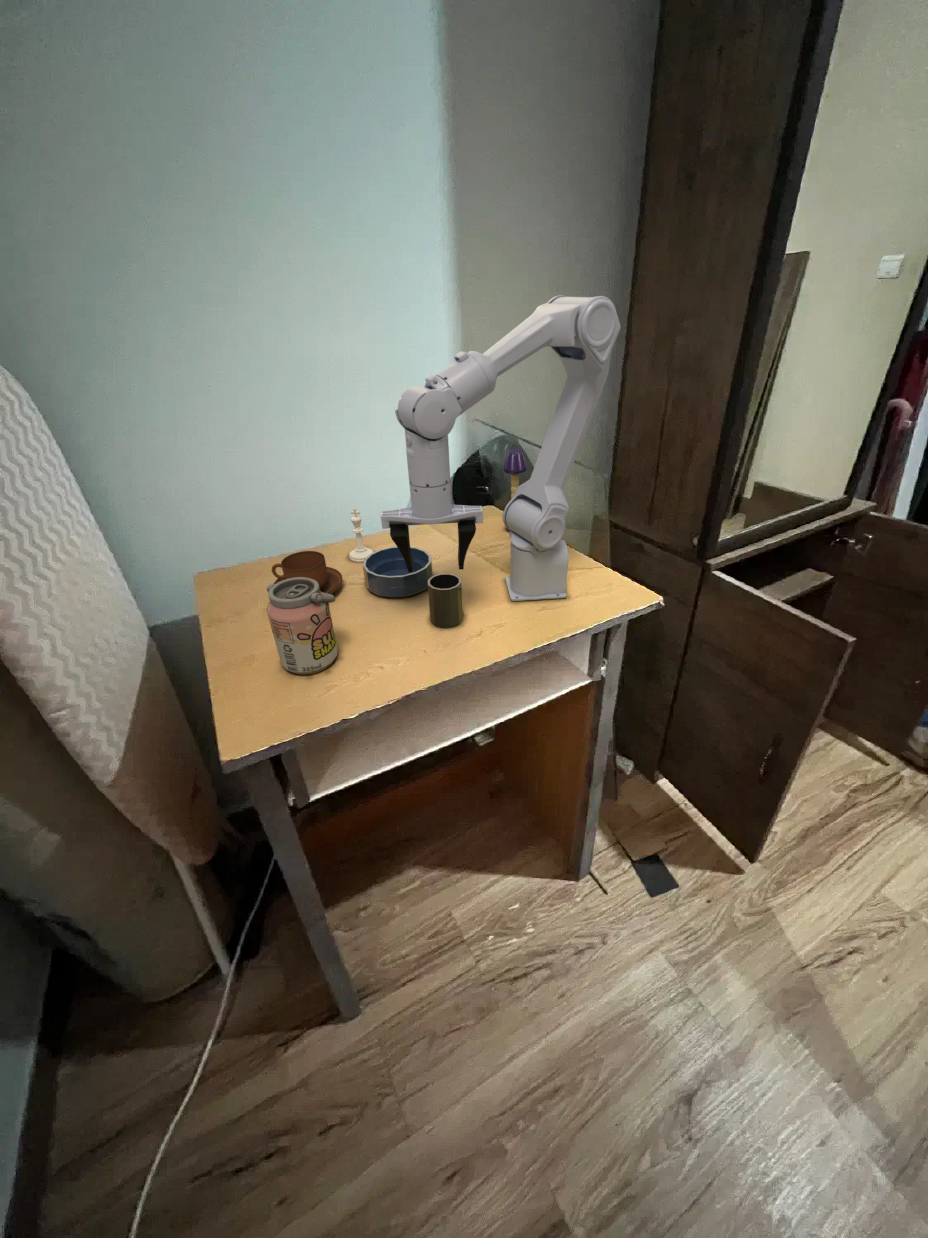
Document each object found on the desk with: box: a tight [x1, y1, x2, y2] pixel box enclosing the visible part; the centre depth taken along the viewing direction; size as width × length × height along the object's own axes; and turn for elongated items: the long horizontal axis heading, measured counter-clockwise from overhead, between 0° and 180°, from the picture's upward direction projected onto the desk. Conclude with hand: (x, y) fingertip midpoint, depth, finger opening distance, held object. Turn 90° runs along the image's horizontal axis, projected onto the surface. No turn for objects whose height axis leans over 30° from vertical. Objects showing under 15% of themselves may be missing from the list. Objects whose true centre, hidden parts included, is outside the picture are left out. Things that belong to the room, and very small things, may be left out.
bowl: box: [362, 546, 434, 598], centre depth 94 cm, size 12×12×4 cm
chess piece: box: [348, 507, 375, 563], centre depth 102 cm, size 5×5×10 cm
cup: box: [427, 572, 464, 629], centre depth 83 cm, size 5×5×7 cm
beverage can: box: [266, 577, 339, 676], centre depth 74 cm, size 9×8×12 cm
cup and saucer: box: [271, 550, 343, 595], centre depth 92 cm, size 12×12×6 cm
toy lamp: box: [503, 448, 527, 533], centre depth 110 cm, size 5×5×17 cm
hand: (435, 568), depth 81 cm, fingers open, 7 cm apart
